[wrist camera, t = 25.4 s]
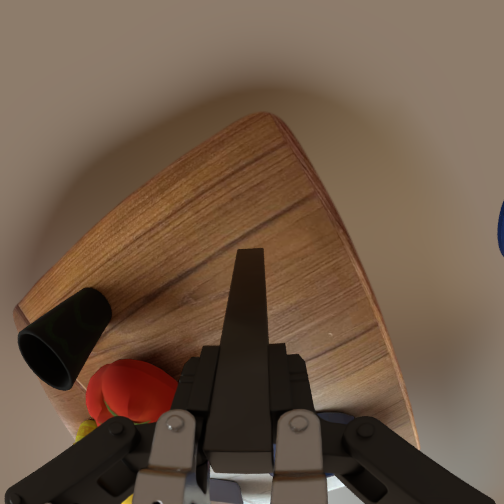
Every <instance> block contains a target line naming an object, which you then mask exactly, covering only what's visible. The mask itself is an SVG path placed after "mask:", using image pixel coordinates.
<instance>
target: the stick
mask: <svg viewBox="0 0 504 504" xmlns="http://www.w3.org/2000/svg"><path fill="white" fill-rule="evenodd" d="M268 344H269V336H268V317H267V299H266V281H265V265H264V249H263V248H252V249H238V250H237V254H236V260H235V265H234V270H233V275H232V281H231V286H230V291H229V297H228V302H227V308H226V313H225V319H224V324H223V330H222V335H221V341H220V351H219V357H218V362H217V368H216V374H215V380H214V386H213V392H212V398H211V404H210V410H209V415H208V417H207V423H206V429H205V435H204V441H203V448H202V449H203V452H204V454H205V456H206V458H207V459H208V461H209V463H210V465H211V467H212V469H213V471H214V472H215V473H234V474H263V473H273V472H274V450H273V423H272V415H271V414H270V387H269V361H268Z"/></svg>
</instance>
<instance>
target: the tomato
mask: <svg viewBox="0 0 504 504" xmlns="http://www.w3.org/2000/svg"><path fill="white" fill-rule="evenodd" d="M177 386H178V382H177V381H176V380H175V379H174V378H172V377H171V376H170V375H168V374H167V373H166V372H164V371H163V370H162V369H160V368H158V367H156V366H154V365H152V364H150V363H147V362H144V361H139V360H134V359H119V360H117V361H115V362H113V363H112V364H106V365H104V366H102V367H101V368H100V369H99V370H98V371H97V372H96V373H95V374H94V375H93V376H92V377H91V379H90V381H89V384H88V387H87V391H86V405H87V408H88V411H89V414H90V415H91V416H92V417H93V418H94V419H95V421H96V423H97V426H100V425H101V424H102V423H104V422H105V421H106V420H108V419H109V418H111V417H115V416H124V417H127V418H129V419H131V420H132V421H133V423H134V424H135V425H137V424H146V423H153V422H156V421H157V420H158V418H159V417H160V416H161V415H162V414H163V413H165V412H167V411H169V410H170V408H171V405H172V401H173V398H174V395H175V392H176V389H177Z"/></svg>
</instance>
